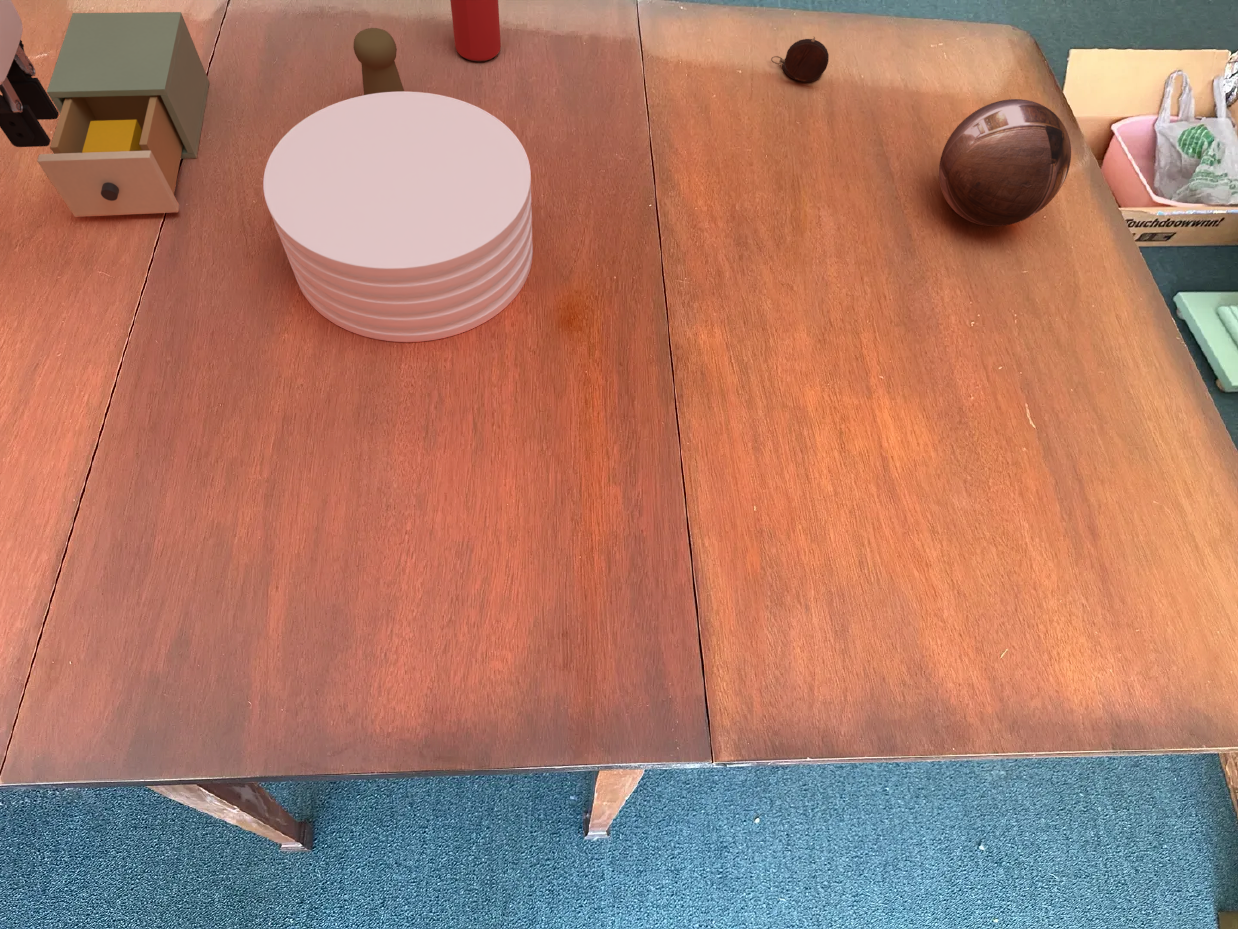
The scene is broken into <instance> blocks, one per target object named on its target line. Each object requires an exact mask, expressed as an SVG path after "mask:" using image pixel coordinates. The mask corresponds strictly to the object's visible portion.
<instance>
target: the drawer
mask: <svg viewBox="0 0 1238 929" xmlns="http://www.w3.org/2000/svg"><path fill="white" fill-rule="evenodd" d="M105 120H137V121H138V123H139V125H140V127H141V129H142V134H141V139H140V143H139V145H140V147H141V149H142V151H120V152H90V153H82V151H83V147H84V143H85V140H86V136H87V132H88V129H89V125H90V121H105ZM53 132H54V133H53V136H52V139H51V141H50V144H49V149H50V150H51V152H52V153H40V154H38V157H37V160H36V161H37V164H38V165H39V166H40V168H41V169H42V171H43V172H44V174H45V176H46V177H47V178H48V180H49V181H50V183H51V184H52V185H53V187H54V189H55V190H56V191H57V193H58V194H59V196H60V197H61V199H62V201H63V202H64V203H65V205H66V206H67V208H68V209H69V211H70V212H71V213H72V215H73V217H74V218H76V217H99V216H122V215H123V216H124V215H147V214H167V213H179V210H180V204H179V202H178V200H177V198H176V196H175V191H176V185H177V180H178V175H179V169H180V163H181V160H182V159H181V153H182V148H183V142H182V140H181V138H180V136H179V134H178V131H177V129H176V127H175V125H174V123H173V121H172V119H171V117H170V114H169V112H168V110H167V108H166V106H165V104H164V102H163V100H162V98H161V95H149V96H107V97H65V100H64V103H63V106H62V110H61V113H59V115H58V118H57V122H56V126H55V130H54V131H53Z"/></svg>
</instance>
